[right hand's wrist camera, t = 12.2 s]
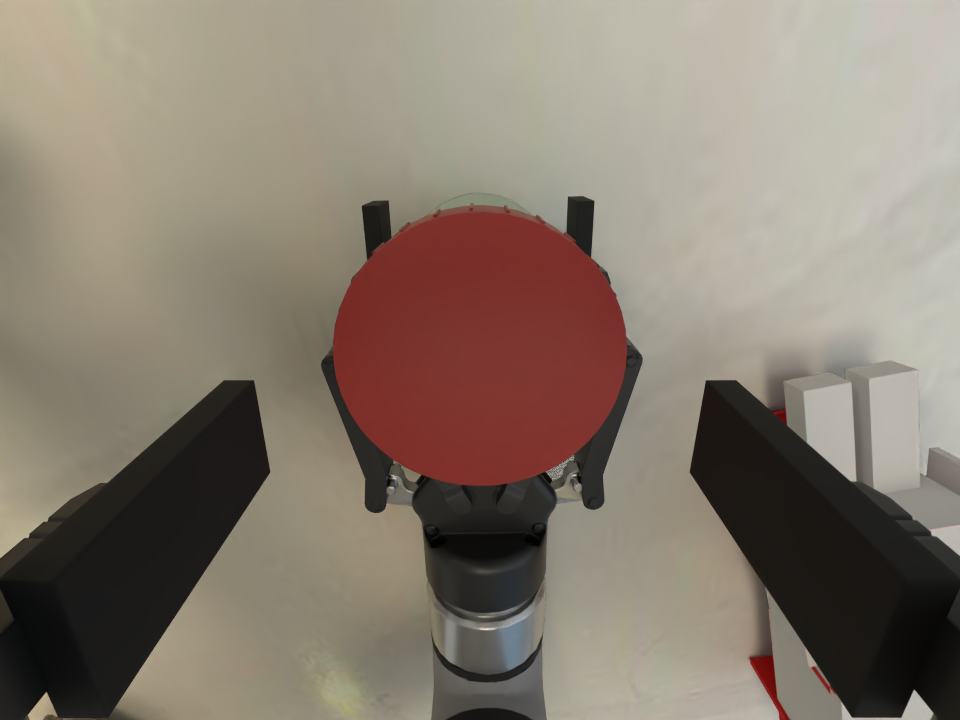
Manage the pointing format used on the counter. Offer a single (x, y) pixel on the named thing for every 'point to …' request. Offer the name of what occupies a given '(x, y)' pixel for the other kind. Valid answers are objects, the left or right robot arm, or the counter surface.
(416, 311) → the lid
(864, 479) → the toy
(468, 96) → the counter surface
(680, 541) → the counter surface
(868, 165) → the counter surface
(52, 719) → the fossil
